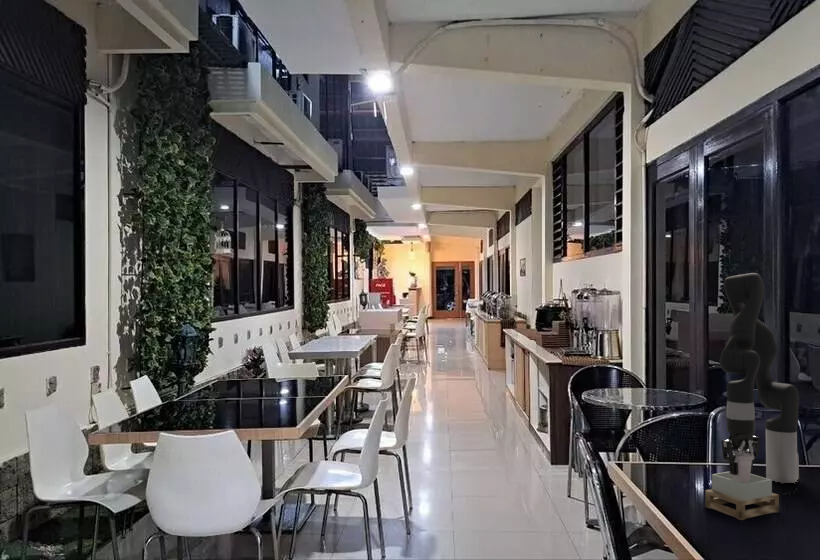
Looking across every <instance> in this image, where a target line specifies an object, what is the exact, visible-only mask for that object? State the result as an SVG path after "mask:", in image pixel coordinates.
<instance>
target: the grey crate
mask: <svg viewBox="0 0 820 560" xmlns="http://www.w3.org/2000/svg"><path fill="white" fill-rule="evenodd" d="M711 489H712V490H715V491H718V492H721V493H724V494H727V495H730V496H733V497H736V498H739V499H741V500H744V501H748V500H752V499H757V498H762V497H767V496H772V493H773V481H772V480H771V479H767V478H766V477H763V476H760V475H756V474H753V473H750V479H749V483H747V484H744V483H741V482H737V481H734V480H733V474H730V471H729V470H728V471H724V472H717V473H712V474H711Z"/></svg>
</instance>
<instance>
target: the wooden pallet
mask: <svg viewBox="0 0 820 560" xmlns="http://www.w3.org/2000/svg"><path fill="white" fill-rule="evenodd" d="M779 496H780V494H778V493H774V492H772V496H767V497H762V498H757V499H752V500H748V501H744V500H741V499H739V498H736V497H733V496H730V495H727V494H724V493H721V492H718V491H715V490H712V488H711V489H710V488H709V489H706V490H705V498H704V499H705V508H708V509H712V510H714V511H717V512H720V513H723V514H725V515H727V516H731V517H733V518H736V519H737V520H740V521H744V520H746V519H749V518H754V517H759V516H763V515H767V514H773V513H774V514H775V513H779V512H780V503H779V499H780V497H779ZM729 503H732V504H734V505H735V508H733V507H730V506H728V505H725V504H729ZM752 504H753V505H757V506H759V507H754V508H753V507H752V508H748V509H746V506H747V505H752Z"/></svg>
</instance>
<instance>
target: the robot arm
mask: <svg viewBox="0 0 820 560" xmlns="http://www.w3.org/2000/svg"><path fill="white" fill-rule="evenodd" d="M763 280H764V279H763V278H762V277H761V275H760V274H759V273H756V272H751V273H742V274H737V275H732V276H727V277H726V278H724V282H723V287H724V293H725V295H726V298H727V300H728V303H729V306H730V307H731V310H732V312H733V314H734V318H733V319H732V321H731V323H730V326H729V334H728V340H727V343H726V345H725V347H724V348H723V349H722V351H721V354H720V356H719V357H720V358H719V367H720V368H721V369H722V370H723V371H724V372H725V373H731V374H732V373H733V374H746V375H745V377H744V378H743V379H739V380H737V379H736V380H730V381H728V383H727V386H726V399H727V400H726V411H725V412H726V414H725V415H726V432H728V434H729V436H728V439H726V440H725V439H722V440H721V441H720V442H721V443H720V444H721V450H722V456H723V460H726V461H728V465H729V466H728V471H730V474H733V475H738V463H737V461H738V456H740V455H741V453H742V451H744V453H748V454H752V455H753V459H752V464H751V471H750V473H753V472H754V460H755V458H758V457H759V454H760V442H761V438H760V436H755V435H753V434H755V433H756V410H755V409H756V408H755V403H754V401H755V398H754V396H755V395H754V394H755V393H754V390H755V389H754V388H755V384H756V389H757V393H758V397H759V400H760V402H761V404H762V405H763V406H764V407H765V408H767V409H771V410H777V411H780V415H779V416H778V417H775V418H770V419H767V420H766V421H765V467H766V468H765V470H766V471H765V474H766V475H765V476H766V477H765V478H767V479H771V480H772V482H773V481H775V482H774V483H777V482H780V483H779V484H784V483H794V484H796V483H795V482H797V483H798V481H797V480H798V479H799V480H800V473H799V471H800V468H799V467H800V465H799V464H800V463H799V455H800V454H799V452H798V430H797V429H798V423H799V407H800V406H799V405H800V395H799V394H800V393H799V391H798V388H797V387H796V386H795V385H794V384H789V383H783V382H775V381H773V377H772V375H771V374H772V373H771V368H772V367H773V366H772V365H773V364H774V362H775V359H776V358H777V355H778V346H777V345H778V344H777V343H776V340H775V339H776V338H775V336H774V333H773V331H772V330H771V329H770V328H769V326H767V325H766V324H765V323H764V322H762V321H761V320H760V319H758V317H759V314H760V311H761V308H762V304H763V300H764V297H765V285H764V281H763ZM745 303H746V304H745ZM733 454H735V456H734V458H733Z"/></svg>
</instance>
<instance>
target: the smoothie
mask: <svg viewBox="0 0 820 560" xmlns="http://www.w3.org/2000/svg"><path fill="white" fill-rule="evenodd" d="M734 456H735V454H733V458H734ZM752 459H753V455H752V454H748V453H744V451H742V453H741V455H740V456H738V461H737V463H738V475H733V480H734V481H737V482H741V483H744V484H747V483H749V479H750V474H751V472H750V471H751V464H752Z"/></svg>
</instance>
